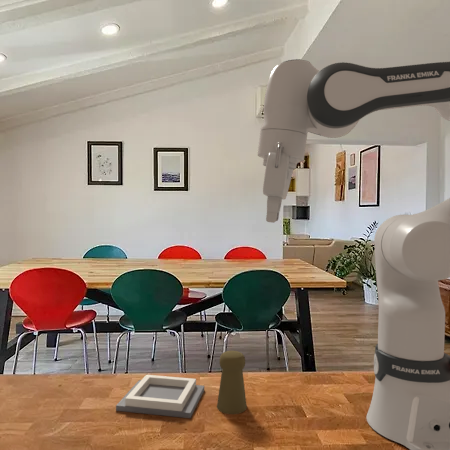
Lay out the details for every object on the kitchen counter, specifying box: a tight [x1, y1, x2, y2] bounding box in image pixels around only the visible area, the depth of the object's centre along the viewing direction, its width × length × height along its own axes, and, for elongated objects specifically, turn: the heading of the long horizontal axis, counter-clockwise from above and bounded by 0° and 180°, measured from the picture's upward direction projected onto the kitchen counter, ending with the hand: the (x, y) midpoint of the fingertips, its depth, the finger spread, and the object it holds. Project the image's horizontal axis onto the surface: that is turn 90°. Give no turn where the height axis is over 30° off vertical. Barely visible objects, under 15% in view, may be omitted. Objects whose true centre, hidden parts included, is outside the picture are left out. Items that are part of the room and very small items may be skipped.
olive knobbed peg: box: [216, 350, 248, 415], centre depth 81 cm, size 6×6×11 cm
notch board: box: [115, 374, 205, 419], centre depth 83 cm, size 15×12×2 cm
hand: (272, 221), depth 77 cm, fingers open, 8 cm apart
